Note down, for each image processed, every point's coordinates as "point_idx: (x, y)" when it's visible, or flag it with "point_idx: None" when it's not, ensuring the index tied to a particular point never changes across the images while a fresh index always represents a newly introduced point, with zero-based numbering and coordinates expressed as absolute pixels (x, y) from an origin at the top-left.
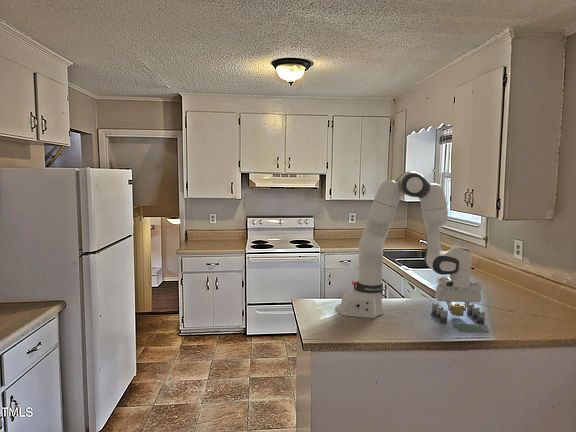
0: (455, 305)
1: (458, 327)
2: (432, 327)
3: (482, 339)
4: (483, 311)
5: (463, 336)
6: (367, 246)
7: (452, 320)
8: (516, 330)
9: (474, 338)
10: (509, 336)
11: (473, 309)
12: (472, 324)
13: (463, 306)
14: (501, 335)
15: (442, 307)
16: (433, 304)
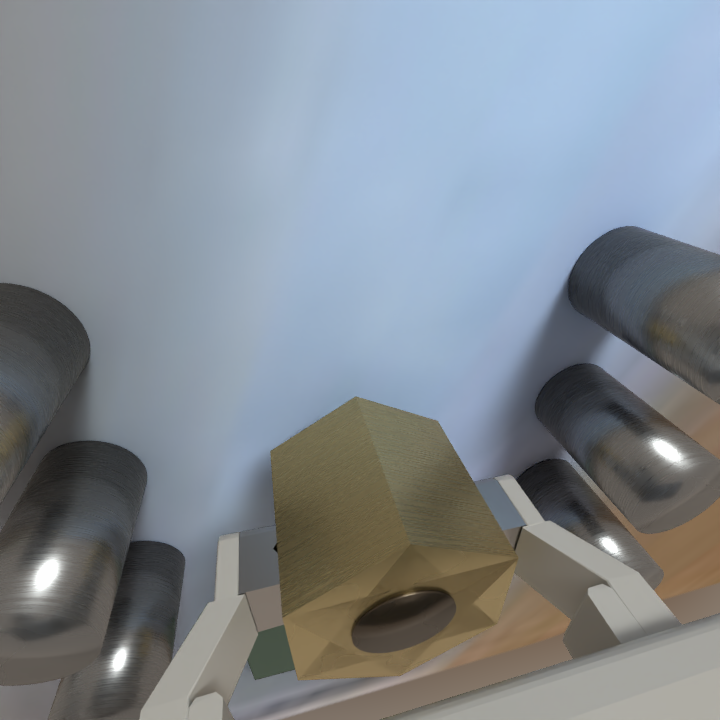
0: (344, 661)
1: (266, 640)
2: (6, 688)
3: (365, 692)
4: (660, 573)
5: (257, 705)
6: None
7: (268, 505)
8: (680, 538)
9: (321, 699)
10: (555, 618)
11: (620, 503)
12: None
13: (478, 623)
14: (519, 622)
15: (84, 640)
16: None
